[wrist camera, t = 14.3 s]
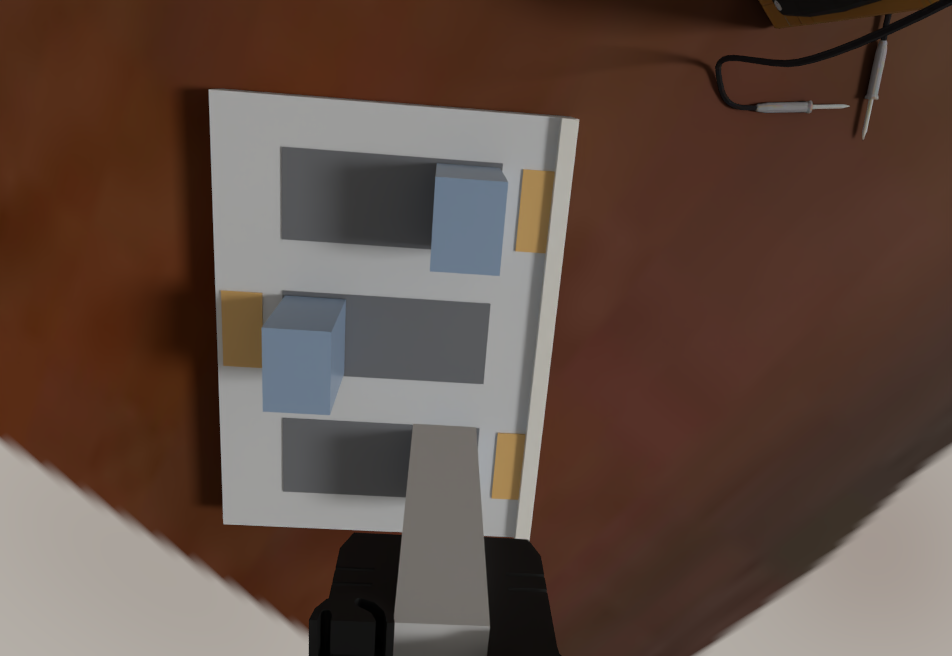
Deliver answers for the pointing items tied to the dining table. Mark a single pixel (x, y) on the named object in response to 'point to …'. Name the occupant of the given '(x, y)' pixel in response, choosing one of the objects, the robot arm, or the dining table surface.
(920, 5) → the multimeter
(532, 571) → the robot arm
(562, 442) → the dining table surface
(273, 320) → the tab
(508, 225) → the switch bank
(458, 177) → the tab
